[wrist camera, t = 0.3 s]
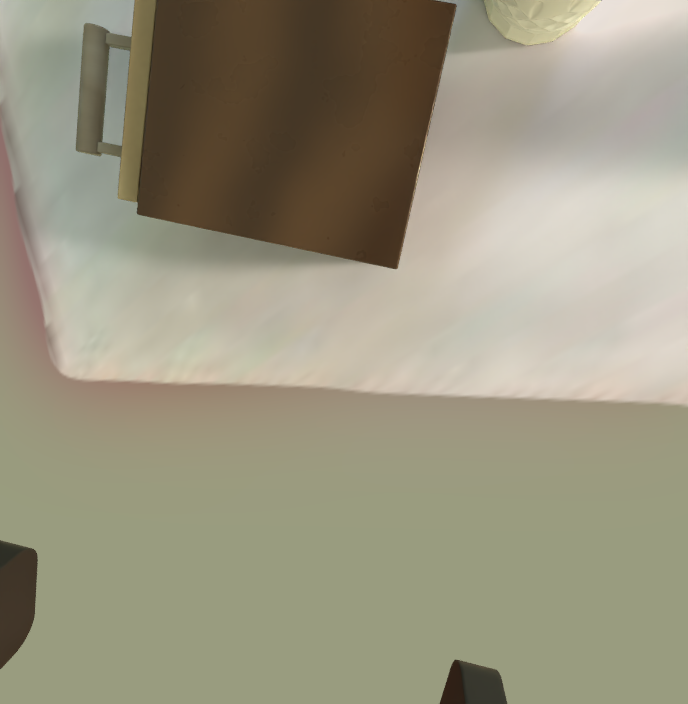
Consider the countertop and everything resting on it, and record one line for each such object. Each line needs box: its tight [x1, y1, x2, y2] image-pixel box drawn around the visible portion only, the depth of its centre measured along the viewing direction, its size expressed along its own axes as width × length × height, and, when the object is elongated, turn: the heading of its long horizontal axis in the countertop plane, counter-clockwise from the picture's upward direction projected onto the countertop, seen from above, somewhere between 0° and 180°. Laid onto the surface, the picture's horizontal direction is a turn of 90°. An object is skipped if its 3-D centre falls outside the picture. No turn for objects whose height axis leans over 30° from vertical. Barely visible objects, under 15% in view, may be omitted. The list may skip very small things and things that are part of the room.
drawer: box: [76, 0, 158, 203], centre depth 30 cm, size 18×11×8 cm, turn 79°
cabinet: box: [137, 0, 457, 269], centre depth 30 cm, size 15×13×10 cm
